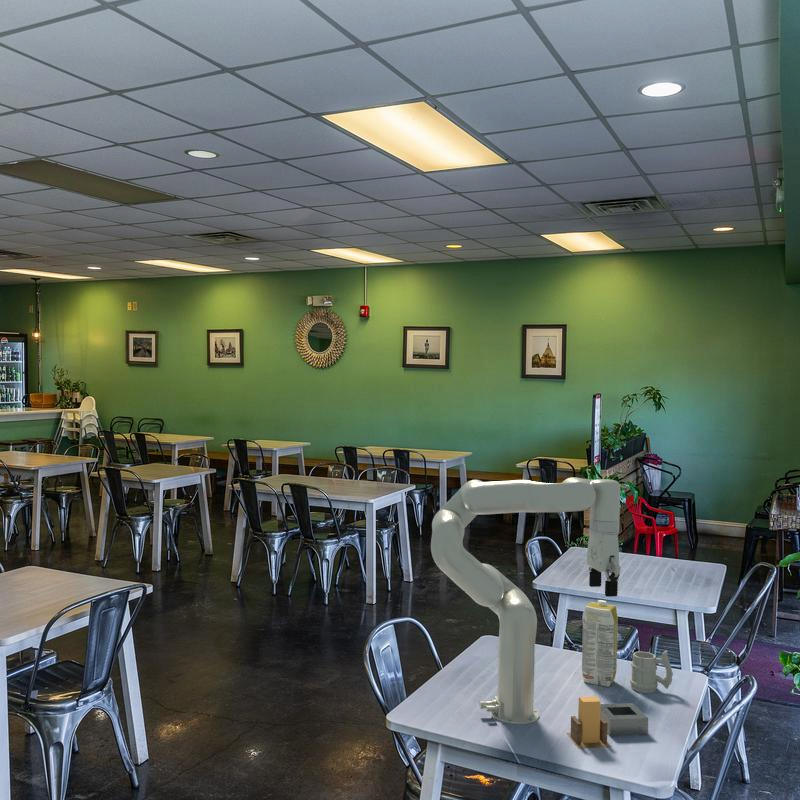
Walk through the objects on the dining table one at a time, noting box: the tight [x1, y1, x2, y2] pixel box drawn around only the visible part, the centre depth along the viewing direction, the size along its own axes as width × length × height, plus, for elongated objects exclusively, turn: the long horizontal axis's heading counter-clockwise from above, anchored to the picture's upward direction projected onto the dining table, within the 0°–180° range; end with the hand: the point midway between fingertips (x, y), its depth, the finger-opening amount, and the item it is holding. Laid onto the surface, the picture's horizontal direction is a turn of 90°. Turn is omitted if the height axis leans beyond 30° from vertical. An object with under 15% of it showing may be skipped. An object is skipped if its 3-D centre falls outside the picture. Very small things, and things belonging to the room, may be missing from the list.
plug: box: [577, 696, 602, 743], centre depth 182 cm, size 4×3×10 cm
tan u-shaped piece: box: [566, 715, 612, 749], centre depth 182 cm, size 8×8×6 cm
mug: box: [629, 650, 674, 694], centre depth 216 cm, size 8×12×12 cm, turn 67°
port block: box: [600, 702, 649, 737], centre depth 189 cm, size 10×9×5 cm
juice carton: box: [581, 599, 619, 688], centre depth 222 cm, size 9×8×24 cm
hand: (602, 591), depth 196 cm, fingers open, 9 cm apart
